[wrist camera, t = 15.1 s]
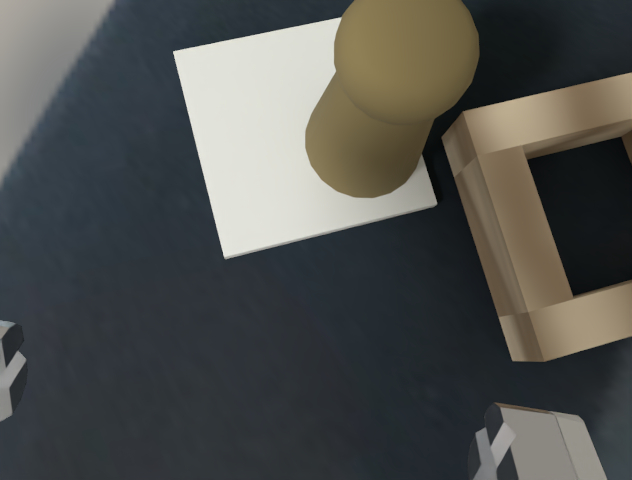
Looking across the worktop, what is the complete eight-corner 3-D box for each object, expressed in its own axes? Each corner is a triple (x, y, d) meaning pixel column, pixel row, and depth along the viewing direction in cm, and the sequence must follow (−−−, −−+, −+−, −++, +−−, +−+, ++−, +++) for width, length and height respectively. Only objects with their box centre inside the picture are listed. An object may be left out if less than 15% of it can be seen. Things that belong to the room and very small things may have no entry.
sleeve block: (512, 361, 30) (553, 361, 26) (441, 137, 32) (468, 104, 28) (723, 299, 32) (794, 290, 27) (643, 90, 34) (698, 51, 29)
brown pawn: (410, 80, 32) (486, -61, 21) (431, 190, 31) (522, 101, 20) (296, 92, 31) (315, -48, 20) (313, 205, 30) (342, 121, 19)
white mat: (224, 259, 30) (224, 257, 29) (174, 57, 32) (173, 51, 31) (434, 206, 31) (437, 203, 31) (375, 16, 33) (377, 10, 32)
